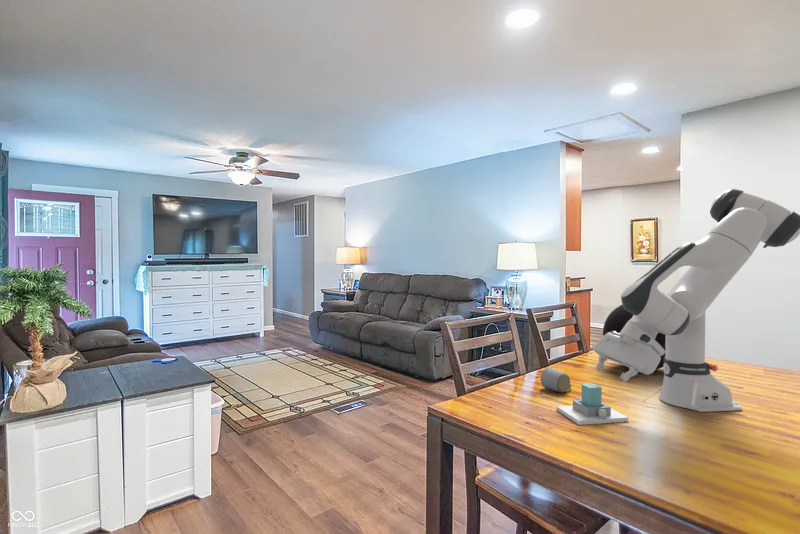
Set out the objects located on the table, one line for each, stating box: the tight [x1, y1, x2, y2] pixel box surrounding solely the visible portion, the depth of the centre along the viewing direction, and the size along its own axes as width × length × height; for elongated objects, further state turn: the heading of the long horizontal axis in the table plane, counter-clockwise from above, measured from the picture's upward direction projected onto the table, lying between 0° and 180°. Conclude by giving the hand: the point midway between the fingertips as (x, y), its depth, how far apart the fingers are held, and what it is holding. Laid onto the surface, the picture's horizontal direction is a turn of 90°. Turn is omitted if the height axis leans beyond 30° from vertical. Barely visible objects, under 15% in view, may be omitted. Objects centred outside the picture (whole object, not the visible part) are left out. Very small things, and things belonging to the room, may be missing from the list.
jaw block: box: [581, 383, 603, 407], centre depth 127 cm, size 4×4×8 cm
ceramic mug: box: [540, 366, 573, 393], centre depth 153 cm, size 11×8×8 cm
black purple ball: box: [602, 304, 665, 371], centre depth 182 cm, size 30×30×30 cm
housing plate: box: [556, 396, 629, 426], centre depth 127 cm, size 16×12×4 cm
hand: (610, 374), depth 127 cm, fingers open, 8 cm apart
